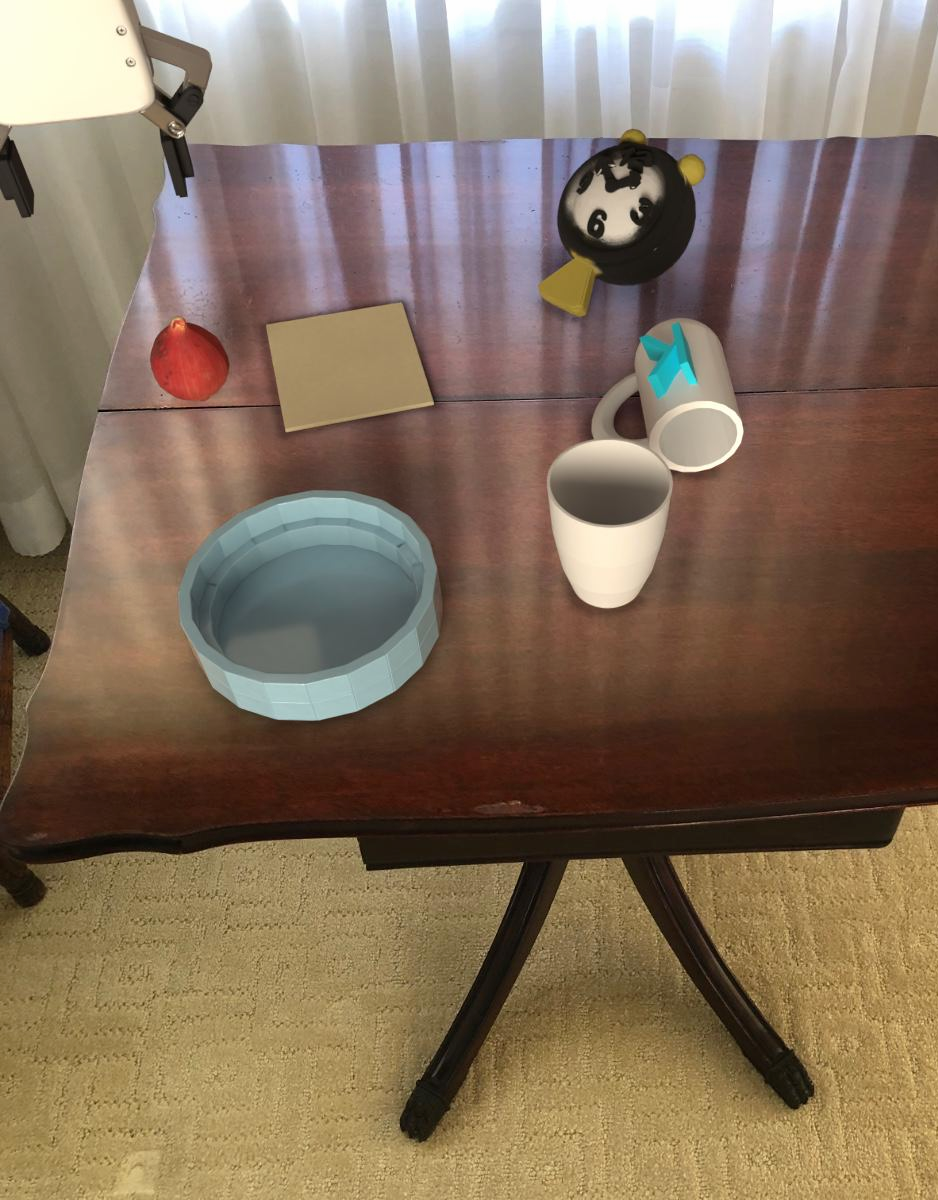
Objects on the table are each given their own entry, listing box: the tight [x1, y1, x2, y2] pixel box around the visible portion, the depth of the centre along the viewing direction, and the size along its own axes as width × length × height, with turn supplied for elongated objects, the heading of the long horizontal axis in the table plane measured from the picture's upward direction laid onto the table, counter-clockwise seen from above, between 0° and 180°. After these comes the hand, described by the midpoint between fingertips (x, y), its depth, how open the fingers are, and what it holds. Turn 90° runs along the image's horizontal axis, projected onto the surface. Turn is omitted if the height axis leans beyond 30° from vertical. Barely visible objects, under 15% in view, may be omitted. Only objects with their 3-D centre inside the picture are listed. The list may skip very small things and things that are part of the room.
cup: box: [546, 438, 674, 609], centre depth 75 cm, size 8×8×10 cm
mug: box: [591, 317, 744, 473], centre depth 86 cm, size 12×9×12 cm
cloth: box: [265, 301, 435, 433], centre depth 93 cm, size 12×14×1 cm
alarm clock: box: [537, 128, 707, 317], centre depth 98 cm, size 12×15×15 cm
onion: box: [149, 315, 230, 402], centre depth 87 cm, size 6×6×8 cm
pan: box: [177, 489, 444, 722], centre depth 74 cm, size 17×17×4 cm
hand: (106, 196), depth 73 cm, fingers open, 9 cm apart
